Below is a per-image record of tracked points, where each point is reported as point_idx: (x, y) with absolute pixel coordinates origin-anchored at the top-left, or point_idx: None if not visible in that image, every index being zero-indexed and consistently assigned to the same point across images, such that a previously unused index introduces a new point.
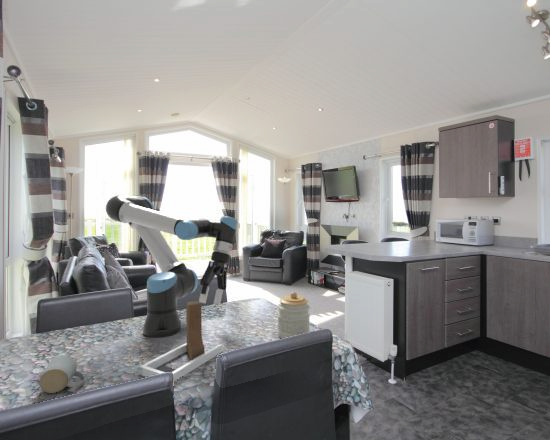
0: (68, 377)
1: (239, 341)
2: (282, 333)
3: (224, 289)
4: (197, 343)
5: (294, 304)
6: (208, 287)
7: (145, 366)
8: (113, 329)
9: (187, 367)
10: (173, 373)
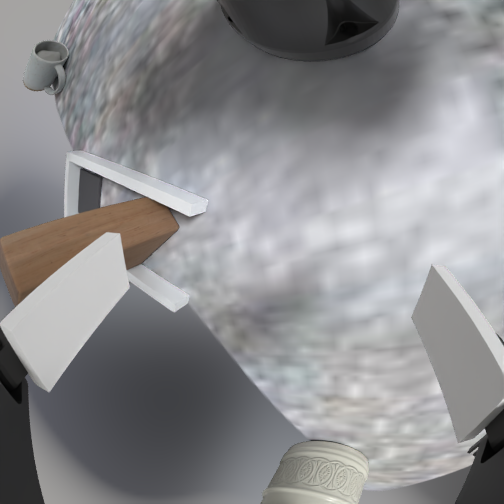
0: (38, 89)
1: (267, 350)
2: (289, 454)
3: (470, 449)
4: None
5: None
6: (41, 377)
7: (68, 162)
8: None
9: None
10: None
